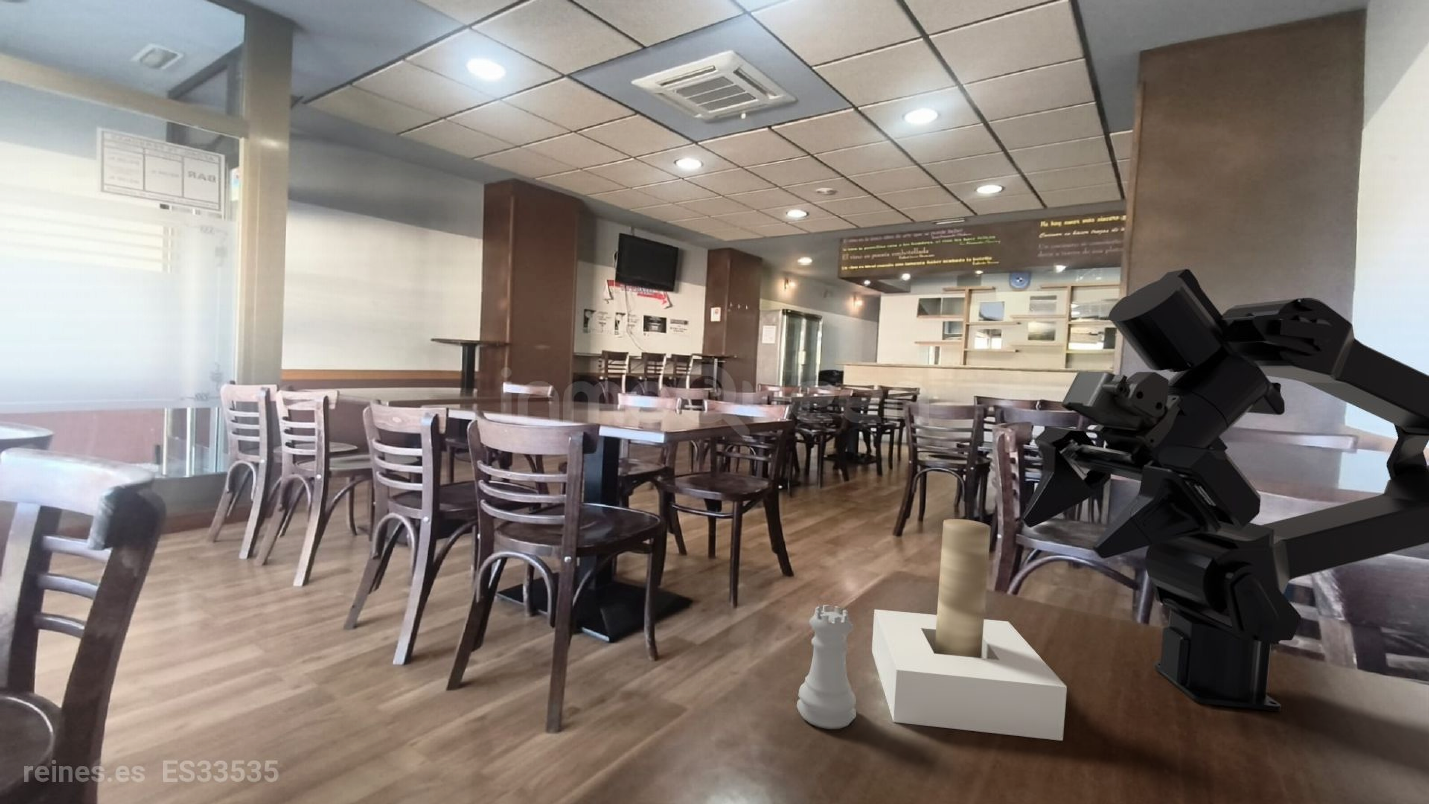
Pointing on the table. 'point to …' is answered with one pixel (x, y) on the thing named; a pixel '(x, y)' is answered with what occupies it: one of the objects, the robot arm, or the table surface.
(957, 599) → the peg
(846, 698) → the rook chess piece
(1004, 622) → the block
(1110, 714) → the table surface
